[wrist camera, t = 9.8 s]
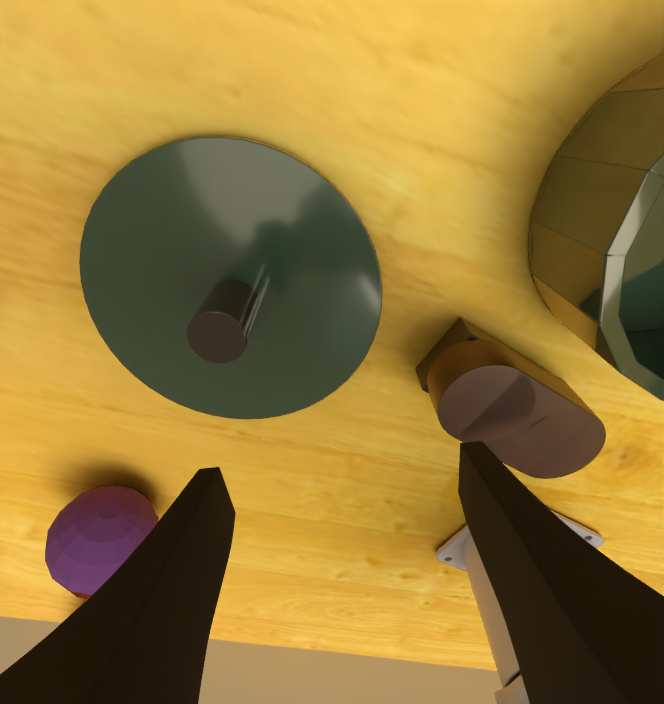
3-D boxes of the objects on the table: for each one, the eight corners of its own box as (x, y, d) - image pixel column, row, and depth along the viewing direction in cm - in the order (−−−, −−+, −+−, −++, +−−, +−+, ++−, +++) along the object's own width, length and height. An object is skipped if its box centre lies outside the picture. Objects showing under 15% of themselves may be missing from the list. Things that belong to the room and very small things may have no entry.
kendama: (24, 675, 31) (15, 534, 21) (80, 596, 36) (96, 451, 26) (97, 705, 31) (125, 581, 21) (142, 623, 36) (184, 490, 26)
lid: (438, 248, 19) (468, 283, 15) (293, 441, 25) (286, 504, 21) (150, 56, 16) (87, 34, 11) (58, 336, 21) (-5, 387, 17)
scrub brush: (576, 382, 23) (626, 434, 19) (520, 433, 25) (555, 490, 21) (454, 305, 21) (483, 347, 17) (402, 368, 23) (417, 419, 19)
